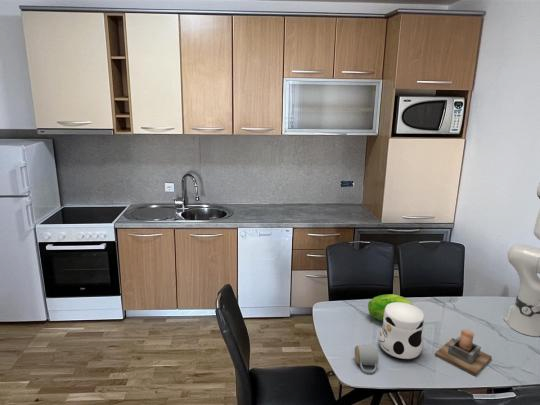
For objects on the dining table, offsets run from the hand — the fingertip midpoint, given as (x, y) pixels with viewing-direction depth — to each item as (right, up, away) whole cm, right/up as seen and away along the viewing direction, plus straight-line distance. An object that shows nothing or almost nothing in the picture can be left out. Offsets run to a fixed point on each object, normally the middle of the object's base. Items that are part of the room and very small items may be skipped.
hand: (537, 305), depth 144 cm
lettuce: (-41, -18, +43) cm, 62 cm away
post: (-19, -24, +16) cm, 35 cm away
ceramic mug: (-60, -26, +10) cm, 66 cm away
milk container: (-44, -24, +20) cm, 54 cm away
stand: (-19, -25, +16) cm, 36 cm away
